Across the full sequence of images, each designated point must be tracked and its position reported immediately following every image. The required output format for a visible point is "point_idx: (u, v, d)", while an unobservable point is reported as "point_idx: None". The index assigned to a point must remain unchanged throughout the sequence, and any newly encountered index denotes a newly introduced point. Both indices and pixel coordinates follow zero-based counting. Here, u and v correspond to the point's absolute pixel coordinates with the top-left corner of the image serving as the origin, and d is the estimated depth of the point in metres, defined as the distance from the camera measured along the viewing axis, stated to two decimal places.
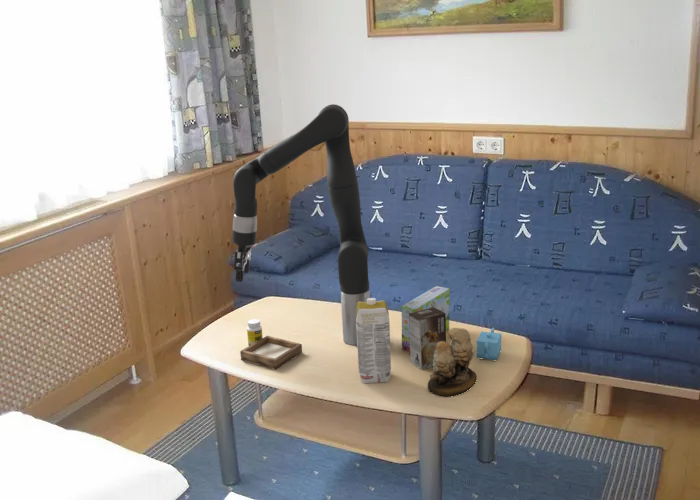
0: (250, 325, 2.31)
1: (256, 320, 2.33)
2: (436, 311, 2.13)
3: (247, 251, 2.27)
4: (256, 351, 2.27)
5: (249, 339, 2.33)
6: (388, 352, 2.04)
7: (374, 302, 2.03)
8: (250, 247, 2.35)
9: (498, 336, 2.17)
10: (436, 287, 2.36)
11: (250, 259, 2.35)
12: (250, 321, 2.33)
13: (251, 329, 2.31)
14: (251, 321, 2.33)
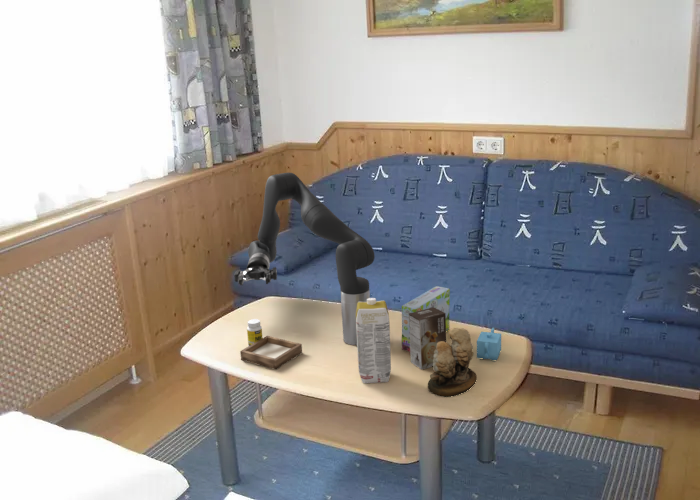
0: (250, 325, 2.31)
1: (256, 320, 2.33)
2: (436, 311, 2.13)
3: None
4: (256, 351, 2.27)
5: (249, 339, 2.33)
6: (388, 352, 2.04)
7: (374, 302, 2.03)
8: (272, 270, 2.48)
9: (498, 336, 2.17)
10: (436, 287, 2.36)
11: (268, 272, 2.44)
12: (250, 321, 2.33)
13: (251, 329, 2.31)
14: (251, 321, 2.33)
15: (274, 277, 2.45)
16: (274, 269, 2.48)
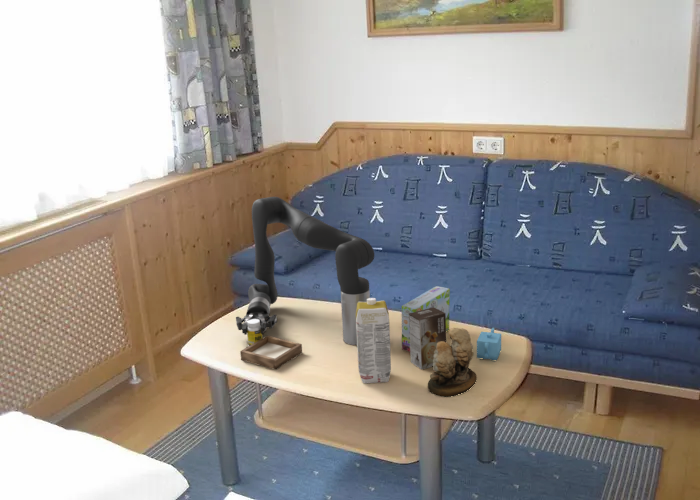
0: (250, 325, 2.31)
1: (256, 320, 2.33)
2: (436, 311, 2.13)
3: None
4: (256, 351, 2.27)
5: (249, 339, 2.33)
6: (388, 352, 2.04)
7: (374, 302, 2.03)
8: (271, 317, 2.38)
9: (498, 336, 2.17)
10: (436, 287, 2.36)
11: (264, 321, 2.34)
12: (250, 321, 2.33)
13: (251, 329, 2.31)
14: (251, 321, 2.33)
15: (269, 326, 2.35)
16: (272, 317, 2.38)
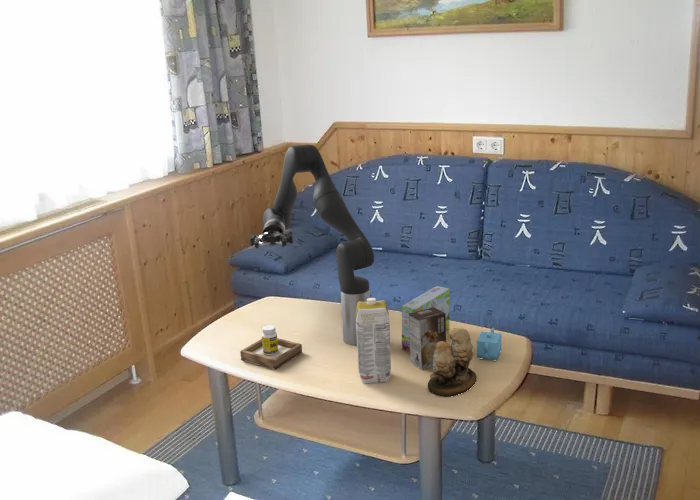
0: (265, 331, 2.22)
1: (271, 326, 2.24)
2: (436, 311, 2.13)
3: None
4: (256, 351, 2.27)
5: (264, 346, 2.24)
6: (388, 352, 2.04)
7: (374, 302, 2.03)
8: (288, 234, 2.45)
9: (498, 336, 2.17)
10: (436, 287, 2.36)
11: (285, 236, 2.41)
12: (265, 327, 2.24)
13: (266, 336, 2.22)
14: (266, 327, 2.24)
15: (290, 241, 2.42)
16: (290, 233, 2.45)
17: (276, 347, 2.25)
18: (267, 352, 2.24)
